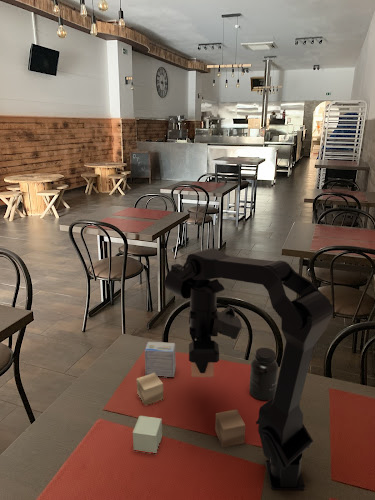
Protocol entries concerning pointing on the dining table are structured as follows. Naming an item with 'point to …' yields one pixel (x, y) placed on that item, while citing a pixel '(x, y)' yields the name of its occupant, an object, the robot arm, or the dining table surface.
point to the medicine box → (160, 359)
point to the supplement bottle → (263, 374)
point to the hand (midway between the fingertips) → (202, 365)
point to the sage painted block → (147, 434)
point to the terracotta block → (196, 373)
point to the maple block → (150, 388)
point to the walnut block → (230, 428)
